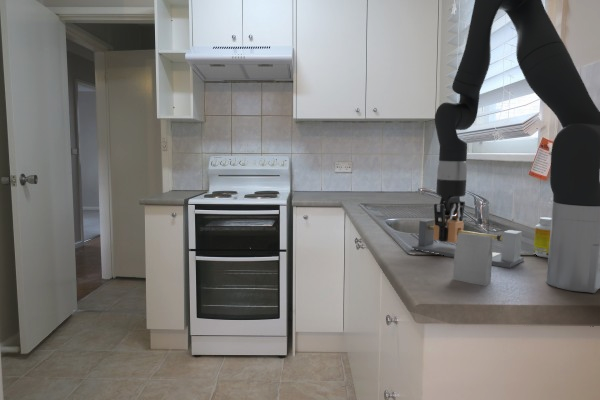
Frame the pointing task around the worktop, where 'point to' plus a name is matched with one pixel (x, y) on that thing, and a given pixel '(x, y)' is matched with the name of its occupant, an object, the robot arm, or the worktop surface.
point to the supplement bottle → (542, 237)
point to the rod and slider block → (510, 237)
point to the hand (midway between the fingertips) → (448, 239)
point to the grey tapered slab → (473, 259)
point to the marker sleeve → (450, 230)
